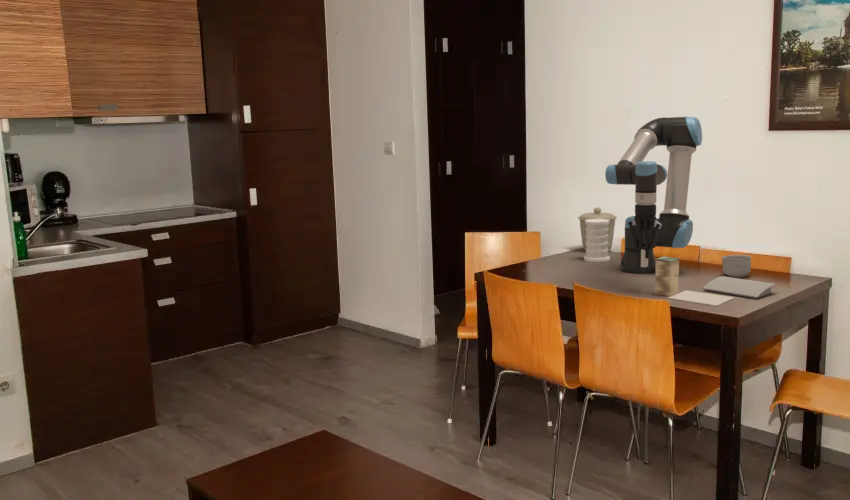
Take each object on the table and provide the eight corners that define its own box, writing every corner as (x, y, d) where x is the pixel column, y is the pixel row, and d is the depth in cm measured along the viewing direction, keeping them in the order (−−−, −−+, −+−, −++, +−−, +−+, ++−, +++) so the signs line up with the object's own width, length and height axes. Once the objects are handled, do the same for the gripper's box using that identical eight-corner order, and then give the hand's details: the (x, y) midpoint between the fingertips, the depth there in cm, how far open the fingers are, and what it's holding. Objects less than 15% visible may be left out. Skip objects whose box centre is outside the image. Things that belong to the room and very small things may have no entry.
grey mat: (667, 298, 267) (667, 297, 267) (685, 291, 276) (686, 290, 276) (716, 306, 254) (716, 305, 254) (734, 298, 264) (734, 297, 264)
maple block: (655, 293, 274) (655, 258, 272) (663, 290, 279) (663, 256, 276) (670, 296, 270) (671, 260, 268) (678, 293, 274) (679, 258, 272)
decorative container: (579, 258, 344) (579, 219, 341) (601, 256, 348) (601, 218, 345) (592, 263, 334) (592, 223, 330) (615, 260, 337) (615, 221, 334)
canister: (617, 254, 352) (617, 209, 348) (578, 254, 355) (578, 210, 352) (615, 247, 369) (615, 205, 365) (578, 247, 373) (578, 205, 369)
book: (720, 284, 287) (720, 274, 286) (780, 294, 270) (781, 283, 269) (699, 291, 277) (699, 281, 277) (760, 302, 260) (761, 291, 259)
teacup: (735, 280, 292) (736, 259, 290) (715, 275, 302) (715, 255, 300) (762, 276, 297) (763, 256, 295) (741, 271, 307) (742, 252, 305)
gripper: (624, 203, 277) (623, 266, 281) (656, 205, 268) (655, 270, 272) (635, 201, 282) (634, 263, 286) (667, 203, 273) (665, 267, 277)
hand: (644, 266), depth 279 cm, fingers closed
